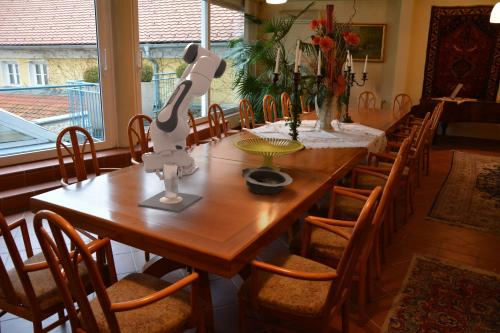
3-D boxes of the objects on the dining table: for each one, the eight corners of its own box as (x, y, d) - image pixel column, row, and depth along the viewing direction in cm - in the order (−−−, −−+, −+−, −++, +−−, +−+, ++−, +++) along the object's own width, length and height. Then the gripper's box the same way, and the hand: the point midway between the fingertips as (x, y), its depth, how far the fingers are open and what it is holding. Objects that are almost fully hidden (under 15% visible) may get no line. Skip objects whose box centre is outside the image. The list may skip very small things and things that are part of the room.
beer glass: (182, 194, 175) (181, 162, 172) (175, 200, 169) (174, 165, 165) (168, 193, 177) (166, 160, 173) (160, 198, 171) (159, 164, 167)
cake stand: (222, 175, 215) (222, 148, 211) (245, 158, 252) (245, 135, 248) (295, 183, 203) (297, 154, 199) (308, 164, 241) (309, 140, 237)
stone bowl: (238, 181, 203) (240, 164, 201) (286, 185, 205) (288, 168, 203) (240, 197, 179) (242, 177, 177) (295, 200, 181) (297, 181, 179)
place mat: (164, 191, 186) (164, 189, 186) (202, 197, 179) (202, 195, 179) (138, 205, 168) (138, 203, 168) (179, 212, 161) (179, 210, 161)
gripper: (141, 149, 169) (147, 177, 163) (187, 145, 178) (195, 172, 172) (140, 157, 174) (146, 185, 168) (185, 153, 183) (192, 179, 177)
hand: (171, 178), depth 170 cm, fingers closed on beer glass, 7 cm apart
